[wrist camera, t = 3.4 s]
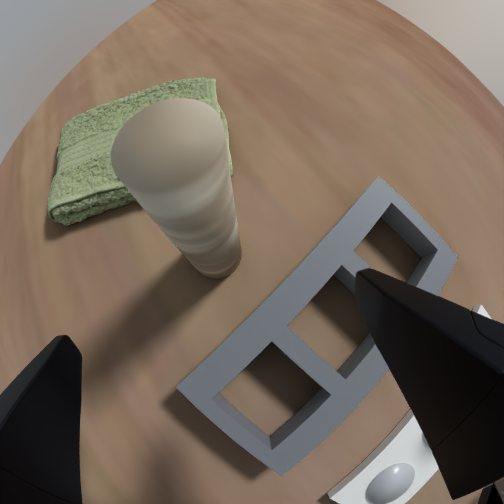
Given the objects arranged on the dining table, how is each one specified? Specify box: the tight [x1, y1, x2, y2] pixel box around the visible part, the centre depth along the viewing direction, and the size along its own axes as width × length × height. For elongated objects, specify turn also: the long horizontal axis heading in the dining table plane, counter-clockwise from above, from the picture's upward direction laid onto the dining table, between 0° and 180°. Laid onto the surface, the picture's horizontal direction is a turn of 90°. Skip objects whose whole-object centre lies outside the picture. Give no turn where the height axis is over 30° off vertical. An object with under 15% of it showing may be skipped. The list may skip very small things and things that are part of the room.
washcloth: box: [47, 77, 233, 225], centre depth 22 cm, size 13×18×3 cm
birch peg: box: [111, 98, 241, 279], centre depth 14 cm, size 4×4×13 cm
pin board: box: [176, 176, 458, 476], centre depth 17 cm, size 20×9×2 cm, turn 135°
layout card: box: [327, 305, 491, 504], centre depth 12 cm, size 20×8×8 cm, turn 136°
